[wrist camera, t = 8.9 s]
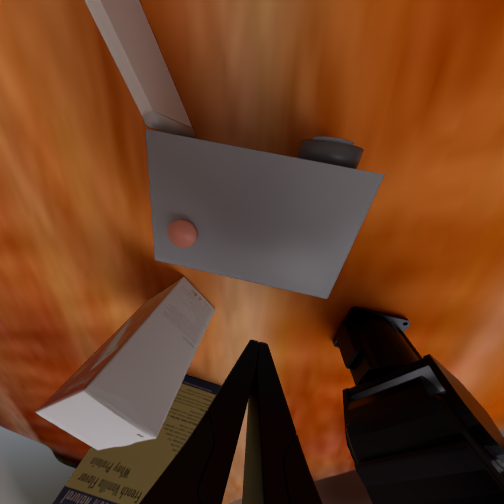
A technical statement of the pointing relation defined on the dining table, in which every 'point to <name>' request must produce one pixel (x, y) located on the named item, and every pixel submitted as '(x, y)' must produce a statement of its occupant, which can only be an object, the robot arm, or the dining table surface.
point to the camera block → (258, 209)
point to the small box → (133, 372)
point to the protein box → (139, 454)
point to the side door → (141, 64)
